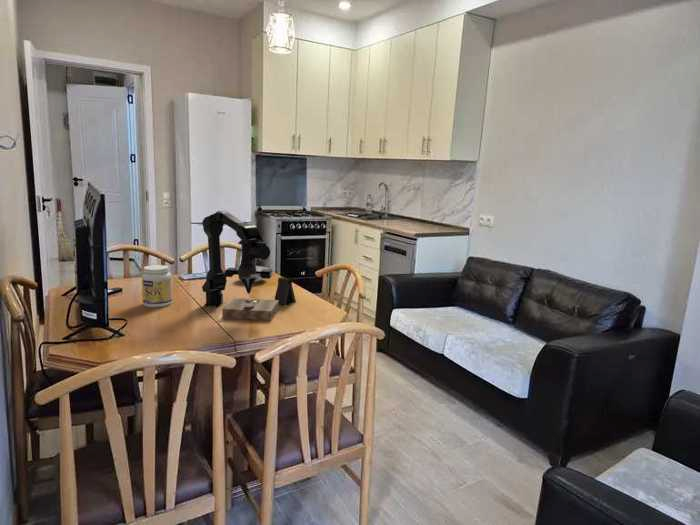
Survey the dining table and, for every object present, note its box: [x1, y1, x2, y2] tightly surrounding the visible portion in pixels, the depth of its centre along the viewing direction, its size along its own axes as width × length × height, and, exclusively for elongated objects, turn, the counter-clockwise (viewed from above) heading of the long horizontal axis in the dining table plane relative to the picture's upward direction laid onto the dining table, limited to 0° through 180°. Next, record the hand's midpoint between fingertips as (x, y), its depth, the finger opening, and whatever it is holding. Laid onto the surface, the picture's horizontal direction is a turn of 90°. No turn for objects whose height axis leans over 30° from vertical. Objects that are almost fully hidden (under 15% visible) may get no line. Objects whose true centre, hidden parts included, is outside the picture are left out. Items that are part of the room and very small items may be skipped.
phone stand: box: [273, 276, 297, 307], centre depth 214 cm, size 9×6×12 cm, turn 147°
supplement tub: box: [141, 264, 173, 308], centre depth 204 cm, size 12×12×17 cm
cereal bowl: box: [254, 265, 269, 283], centre depth 255 cm, size 17×17×7 cm
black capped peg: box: [245, 300, 252, 309], centre depth 191 cm, size 3×3×4 cm
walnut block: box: [221, 297, 280, 321], centre depth 197 cm, size 20×17×4 cm
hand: (248, 293), depth 191 cm, fingers closed
